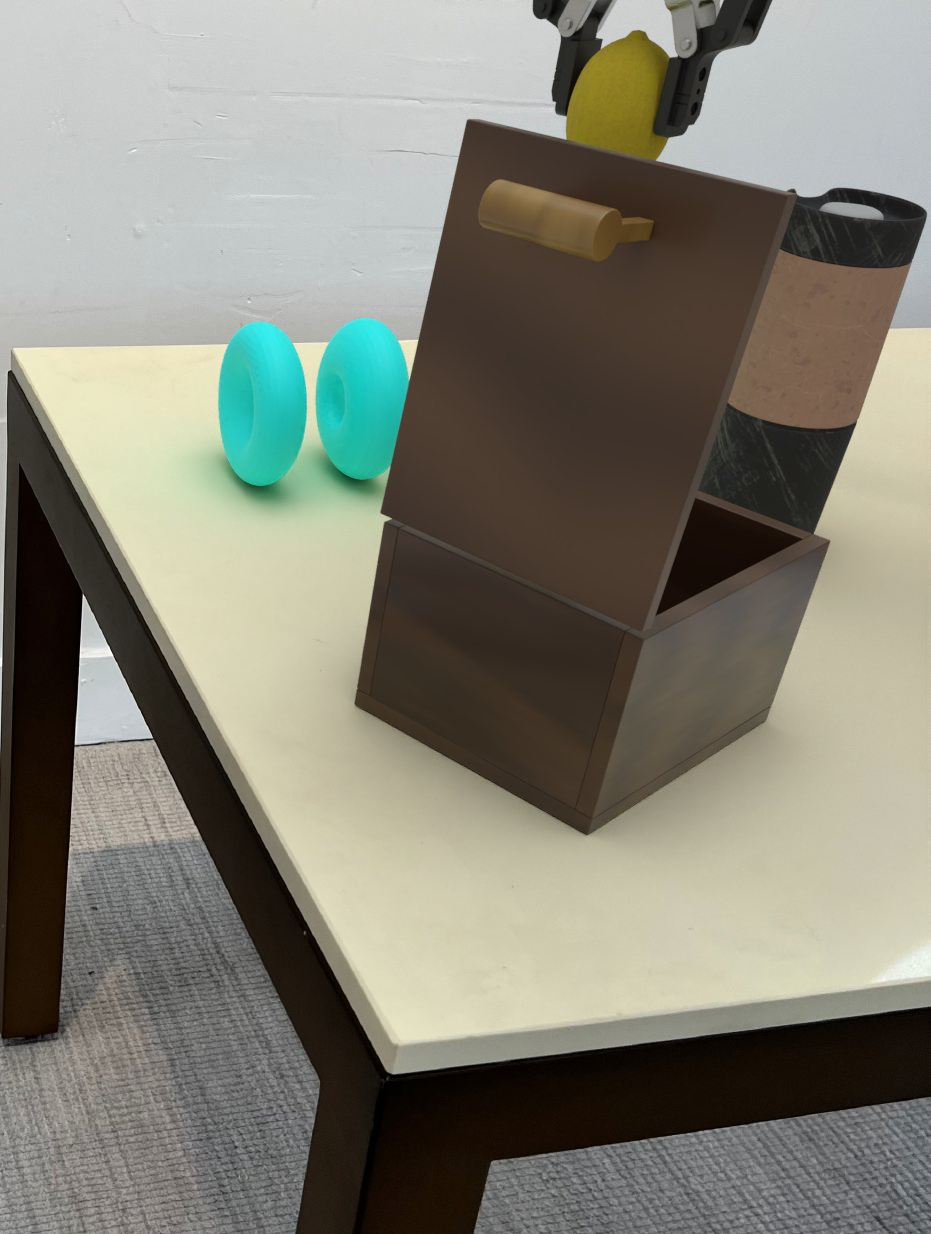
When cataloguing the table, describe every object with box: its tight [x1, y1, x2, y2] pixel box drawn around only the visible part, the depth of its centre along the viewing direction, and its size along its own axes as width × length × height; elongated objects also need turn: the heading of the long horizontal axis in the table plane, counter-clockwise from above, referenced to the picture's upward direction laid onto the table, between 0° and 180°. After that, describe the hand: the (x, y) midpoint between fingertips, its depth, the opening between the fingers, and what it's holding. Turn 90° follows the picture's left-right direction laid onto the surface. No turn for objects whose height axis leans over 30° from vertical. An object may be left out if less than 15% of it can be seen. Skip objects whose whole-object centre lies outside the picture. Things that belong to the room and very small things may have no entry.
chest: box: [354, 491, 831, 835], centre depth 71 cm, size 16×14×10 cm
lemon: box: [565, 29, 670, 161], centre depth 79 cm, size 6×6×8 cm
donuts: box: [217, 317, 410, 487], centre depth 94 cm, size 10×10×10 cm
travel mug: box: [698, 187, 928, 534], centre depth 86 cm, size 8×8×20 cm
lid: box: [380, 118, 798, 631], centre depth 58 cm, size 17×14×5 cm
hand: (618, 123), depth 79 cm, fingers closed on lemon, 5 cm apart
